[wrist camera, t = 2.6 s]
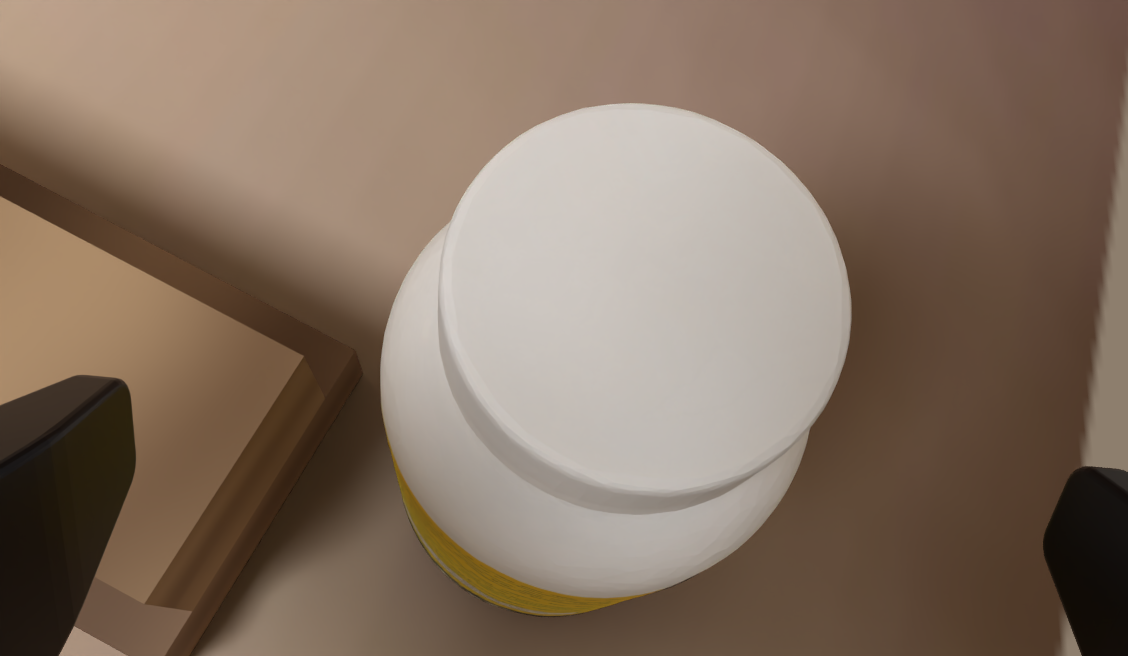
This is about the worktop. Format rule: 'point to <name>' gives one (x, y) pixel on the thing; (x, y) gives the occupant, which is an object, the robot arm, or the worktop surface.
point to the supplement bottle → (611, 358)
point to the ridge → (165, 404)
